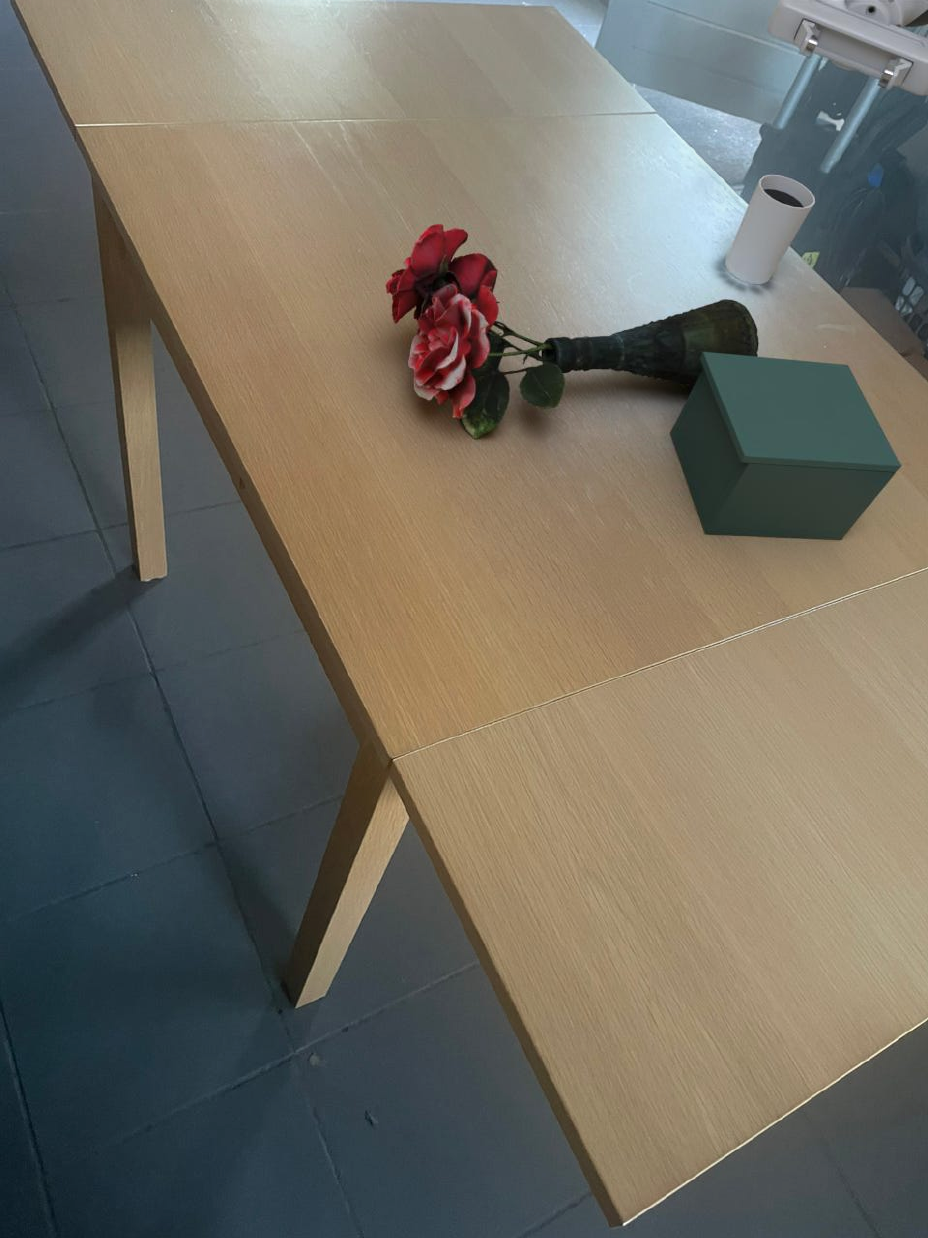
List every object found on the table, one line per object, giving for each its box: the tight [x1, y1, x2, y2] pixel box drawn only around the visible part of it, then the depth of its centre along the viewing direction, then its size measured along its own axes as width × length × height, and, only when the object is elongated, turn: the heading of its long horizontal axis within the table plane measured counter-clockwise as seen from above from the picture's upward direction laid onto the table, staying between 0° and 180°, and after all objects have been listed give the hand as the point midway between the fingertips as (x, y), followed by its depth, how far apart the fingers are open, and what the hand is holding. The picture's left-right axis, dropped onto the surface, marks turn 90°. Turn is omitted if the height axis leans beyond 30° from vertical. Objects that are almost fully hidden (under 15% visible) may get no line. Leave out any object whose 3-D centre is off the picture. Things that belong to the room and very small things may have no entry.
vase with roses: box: [385, 223, 760, 439], centre depth 87 cm, size 16×18×35 cm
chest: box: [669, 368, 897, 541], centre depth 84 cm, size 14×13×9 cm
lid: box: [700, 352, 902, 473], centre depth 80 cm, size 15×13×1 cm
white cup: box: [724, 174, 816, 285], centre depth 107 cm, size 7×7×10 cm
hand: (847, 64), depth 102 cm, fingers open, 8 cm apart
